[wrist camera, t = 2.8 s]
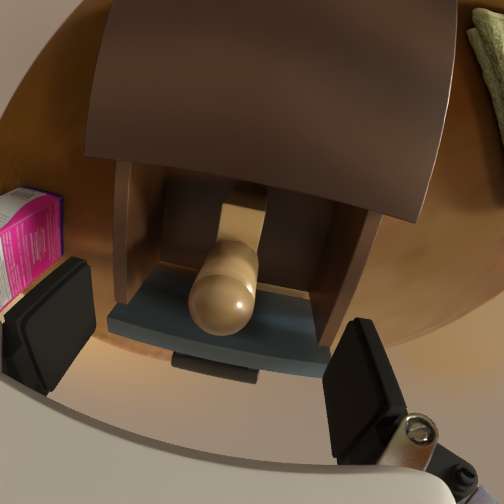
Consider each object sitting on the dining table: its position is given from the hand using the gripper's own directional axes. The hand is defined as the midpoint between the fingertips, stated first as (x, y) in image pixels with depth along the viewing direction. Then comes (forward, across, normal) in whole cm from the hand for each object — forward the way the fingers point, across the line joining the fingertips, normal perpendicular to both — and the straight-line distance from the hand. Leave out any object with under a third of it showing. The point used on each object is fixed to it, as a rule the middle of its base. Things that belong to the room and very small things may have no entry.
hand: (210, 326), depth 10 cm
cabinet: (+11, 0, -11) cm, 16 cm away
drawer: (+11, 0, +2) cm, 11 cm away
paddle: (+10, 0, 0) cm, 10 cm away
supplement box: (+12, +18, +3) cm, 22 cm away
